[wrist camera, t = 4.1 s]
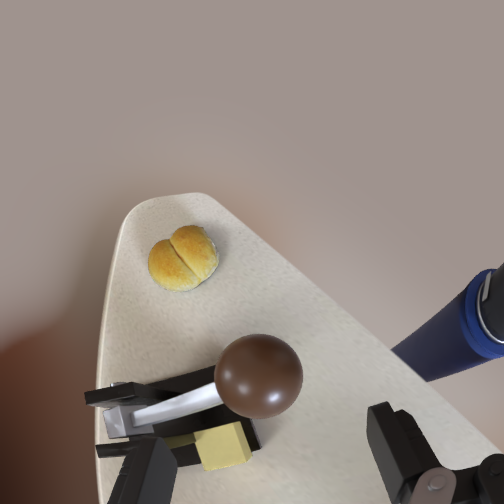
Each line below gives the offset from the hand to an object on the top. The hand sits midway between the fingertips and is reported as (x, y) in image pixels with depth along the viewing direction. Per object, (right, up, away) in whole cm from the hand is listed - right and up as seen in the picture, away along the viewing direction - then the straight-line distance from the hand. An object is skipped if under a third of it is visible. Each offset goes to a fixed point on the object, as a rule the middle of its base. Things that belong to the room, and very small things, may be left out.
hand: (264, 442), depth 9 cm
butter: (-3, -12, +15) cm, 19 cm away
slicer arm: (-3, -2, +7) cm, 8 cm away
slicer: (-8, -11, +18) cm, 22 cm away
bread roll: (-9, +6, +28) cm, 30 cm away
